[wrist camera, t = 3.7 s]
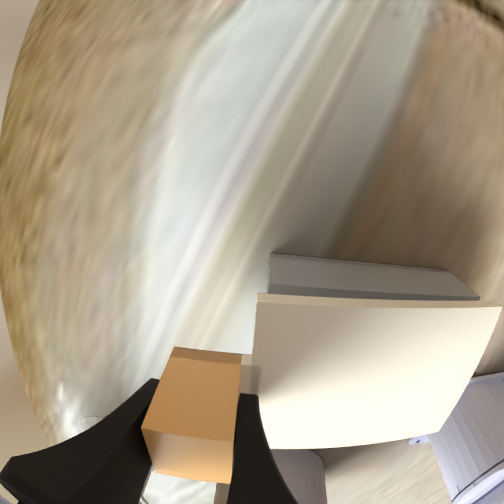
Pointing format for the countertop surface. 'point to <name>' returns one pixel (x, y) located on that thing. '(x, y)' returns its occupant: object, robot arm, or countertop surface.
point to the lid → (319, 379)
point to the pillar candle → (293, 476)
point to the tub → (362, 280)
